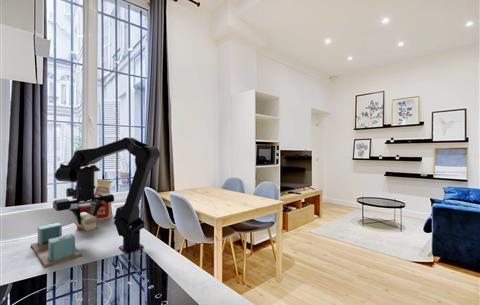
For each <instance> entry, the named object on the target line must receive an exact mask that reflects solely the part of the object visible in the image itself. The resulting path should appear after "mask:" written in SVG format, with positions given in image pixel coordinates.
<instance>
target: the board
mask: <svg viewBox="0 0 480 305" xmlns="http://www.w3.org/2000/svg"><path fill="white" fill-rule="evenodd" d="M42 243H43V245H41V246H40V245H39V244H38V241H37V242H33V243H30V244H31V245H30V247H31V248H32V250H33V251H34V253H35V254H36V257H37V258H38V260H39V261H40V262H41V265H42V266H43V267H44V268H48V267H51V266H54V265H57V264H60V263H64V262H67V261H70V260H73V259H77V258H80V257H82V256H83V253H82V251H80V249H78V248H77V247H76V246H75V254H74V255H71V256H68V257H64V258H61V259H58V260H55V261H51V260H50V259H49V258H48V241H45V242H42Z"/></svg>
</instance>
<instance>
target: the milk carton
mask: <svg viewBox="0 0 480 305" xmlns="http://www.w3.org/2000/svg"><path fill="white" fill-rule="evenodd" d="M96 182H97V183H96V186H95V190H94V196H95V197H98V195H99V194H103V193H110V194H111V190H110V189H111V187H110V186H111V184H112V183H113V182H114V180H107V179H100V178H96ZM102 203H103V204H104V205H103V206H101V207H100V209H99V210H98V212H97V221H102V220H109V219H111V218H112V217H113V209H112V207H113V206H112V202H108V203H106V202H104V200H103V201H102Z"/></svg>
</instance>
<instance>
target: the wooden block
mask: <svg viewBox="0 0 480 305" xmlns="http://www.w3.org/2000/svg"><path fill="white" fill-rule="evenodd" d="M80 214H81V223H80V225H79V224H78V222H77V220H76V218H75V217H74V225H75V226H76V227H77V226H79V227H81V228H82V229H84V230H83V231H90V230H94V229H97V226H96V222H97V223H98V220H97V217H95V216H93V215H90V214H88V213H86V212H82V213H80Z"/></svg>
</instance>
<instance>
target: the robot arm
mask: <svg viewBox="0 0 480 305" xmlns="http://www.w3.org/2000/svg"><path fill="white" fill-rule="evenodd" d="M126 150H127V151H128V153H129V154H131V155H132V156H134V157H135V158H134V163H135V172H134V175H133V177H132V181H131V182H130V187H129V191H128V193H127V196H126V199H125V202H124V204H123V205H121V206H119V207H117V208H116V210H115V214H114V216H113V219H114V220H113V225H115V228H116V231H117V234H118V236H119V237H122V245H119V246H118V248H119V249H120V250H121V251H123V252H124V253H126V254H130V253H131V252H132V253H133V252H134V251H138V250H140V249H143V248H144V247H145V246H144V245H143V244H141V230H142V229H144V227H145V225H146V223H145V221H144V220H143V219H142V217H140V213H141V212H140V207H139V206H140V202H141V199H142V196H143V192H144V190H145V188H146V184H147V180H148V178H149V174H150V172H151V170H152V169H153V167H154V166H155V165H156V164H157V162H158V160H159V158H160V156H161V155H160V154H161V152H160V150H159V148H158V147H157V146H154V145H149V144H147V143H144V142H142V141H140V140H137V139H135V137H123V138H121V139H119V140H116V141H113V142H110V143H107V144H104V145H102V146H99V147H95V148H87V149H79V150H76V151H74V153H73V156H72V157H71V159H70V160H69V162H68V163H60V164H59V167H58V168H57V169H56V171H55V173H54V177H55V179H56V181H58V182H66V183H68V182H69V183H75V188H73V187H68V188H66V190H65V193H66V197H67V198H61V199H55V200H54V201H53V202H52V209H54V210H55V211H57V212H59V211H66V210H67V211H68V210H69V211H70V212H72V213H73V214H74V219H75V218H76V220H77V222H78V224H79V225H80V223H81V214H80V208H79V207H78V205H79V204H85V203H90V204H91V213H90V215H93V216H96V214H97V212H98V210H99V209H100V207H101V206H103V205H104V204H103V203H102V201H103V200H104V202H106V203H108V202H111V203H113V202H115V195H114V194H112V193H111V192H110V193H103V194H99V195H98V197H95V196H94V194H95V190H96V185H95V184H96V183H95V172H100V171H101V168H99V167H98V166H97V165H96V164H97V163H99V162H100V161H101V160H102V159H104V158H105V157H108V156H112V155H115V154H118V153H121V152H124V151H126ZM69 197H71V198H72V200H70V199H68V198H69Z"/></svg>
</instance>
